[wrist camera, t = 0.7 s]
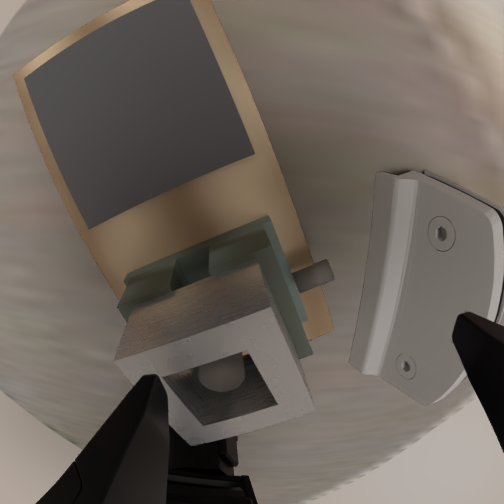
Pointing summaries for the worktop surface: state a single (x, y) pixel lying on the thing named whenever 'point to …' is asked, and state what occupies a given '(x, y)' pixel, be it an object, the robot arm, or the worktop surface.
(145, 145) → the mat
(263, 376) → the collar
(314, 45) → the worktop surface
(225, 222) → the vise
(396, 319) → the grey arched bracket
